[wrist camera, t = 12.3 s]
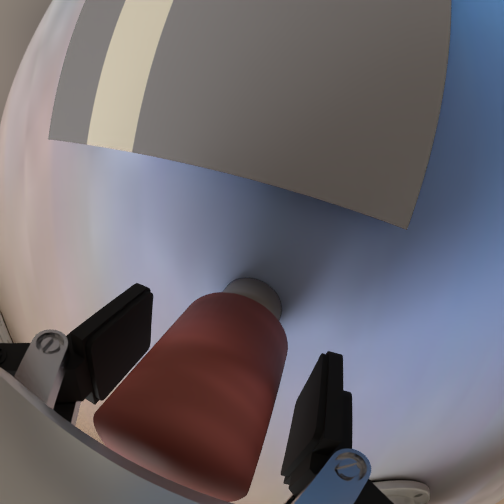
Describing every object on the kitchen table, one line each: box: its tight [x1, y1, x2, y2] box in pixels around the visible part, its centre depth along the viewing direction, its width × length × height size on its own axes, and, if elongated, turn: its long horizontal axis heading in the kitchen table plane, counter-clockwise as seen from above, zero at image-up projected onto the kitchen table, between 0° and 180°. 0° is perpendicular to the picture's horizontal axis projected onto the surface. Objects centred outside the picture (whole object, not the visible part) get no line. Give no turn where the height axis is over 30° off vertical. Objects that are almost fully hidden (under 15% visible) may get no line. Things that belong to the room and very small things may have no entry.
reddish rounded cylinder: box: [93, 278, 288, 502], centre depth 10 cm, size 4×4×9 cm
